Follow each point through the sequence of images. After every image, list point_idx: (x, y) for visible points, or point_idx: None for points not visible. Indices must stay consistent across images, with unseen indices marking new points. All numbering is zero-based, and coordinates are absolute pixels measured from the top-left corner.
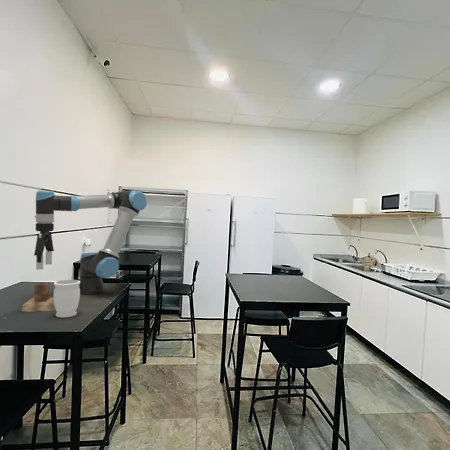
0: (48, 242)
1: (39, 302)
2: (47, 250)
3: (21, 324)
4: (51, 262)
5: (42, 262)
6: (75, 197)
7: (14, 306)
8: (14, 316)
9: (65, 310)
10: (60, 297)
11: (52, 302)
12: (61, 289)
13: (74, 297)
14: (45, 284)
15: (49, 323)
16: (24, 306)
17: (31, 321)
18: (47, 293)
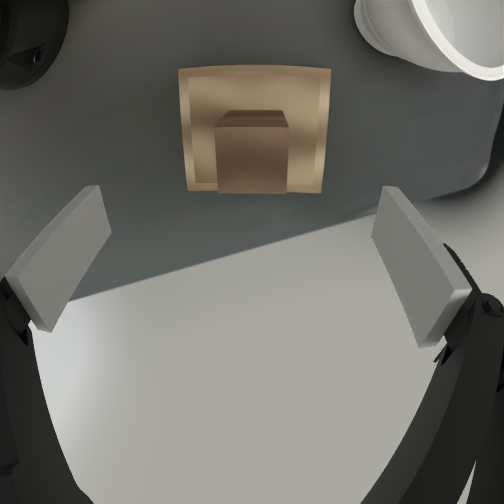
0: (32, 467)
1: (295, 134)
2: (24, 327)
3: (449, 153)
4: (86, 194)
5: (427, 229)
6: None
7: (235, 226)
8: (365, 190)
9: (439, 26)
10: (479, 46)
11: (305, 77)
12: (500, 45)
13: None
14: (275, 136)
15: (463, 77)
16: (321, 182)
17: (433, 129)
18: (257, 115)
